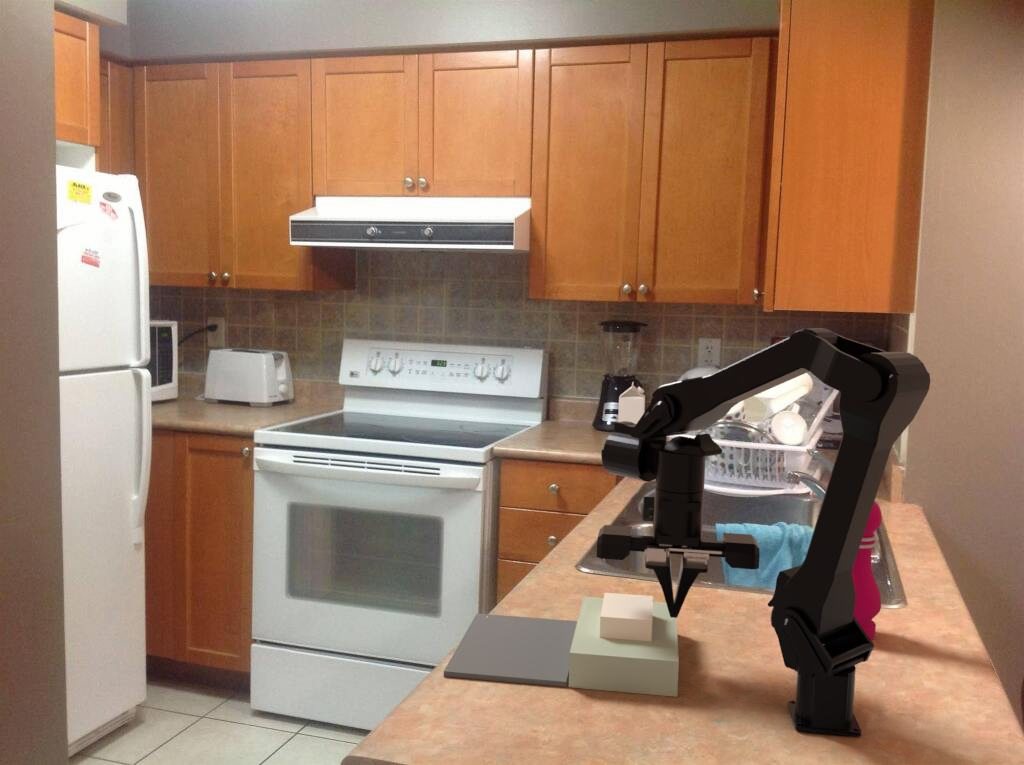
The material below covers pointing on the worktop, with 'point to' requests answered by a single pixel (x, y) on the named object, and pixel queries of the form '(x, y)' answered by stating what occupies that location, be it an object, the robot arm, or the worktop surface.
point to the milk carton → (631, 405)
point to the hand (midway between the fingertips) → (673, 616)
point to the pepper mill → (867, 577)
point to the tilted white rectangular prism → (626, 617)
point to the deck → (624, 655)
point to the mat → (514, 650)
